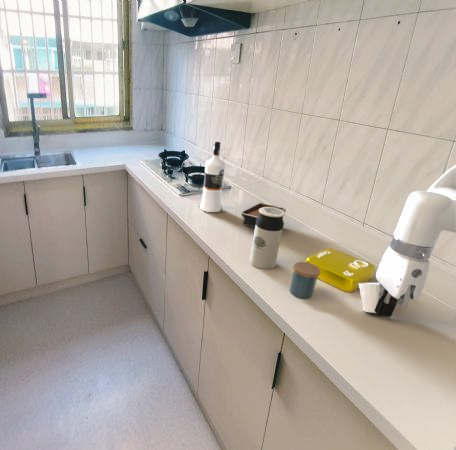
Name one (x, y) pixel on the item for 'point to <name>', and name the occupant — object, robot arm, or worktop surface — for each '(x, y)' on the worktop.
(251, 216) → the baking dish
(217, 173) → the vodka
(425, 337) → the worktop surface
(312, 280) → the salt pot
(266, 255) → the travel mug
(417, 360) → the worktop surface
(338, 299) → the worktop surface
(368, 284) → the white cup
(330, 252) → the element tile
